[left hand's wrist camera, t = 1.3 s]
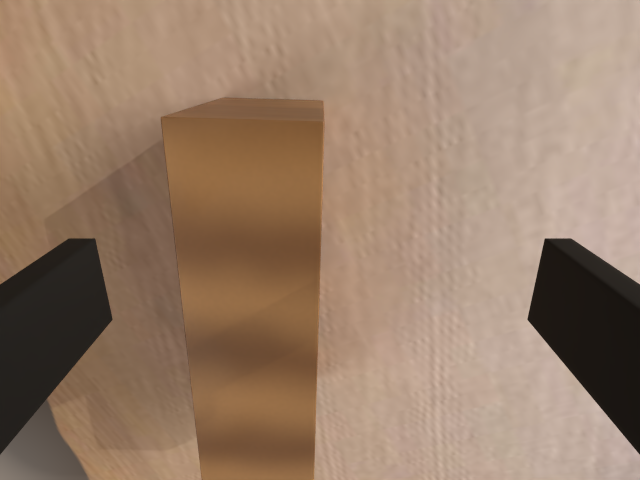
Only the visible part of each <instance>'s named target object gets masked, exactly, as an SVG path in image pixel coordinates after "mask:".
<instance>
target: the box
mask: <svg viewBox="0 0 640 480" xmlns="http://www.w3.org/2000/svg"><path fill="white" fill-rule="evenodd" d="M161 124H162V133H163V142H164V151H165V159H166V168H167V177H168V186H169V195H170V204H171V212H172V221H173V230H174V239H175V248H176V257H177V265H178V274H179V283H180V292H181V301H182V310H183V318H184V327H185V336H186V345H187V354H188V363H189V371H190V380H191V389H192V398H193V407H194V415H195V424H196V433H197V442H198V451H199V460H200V468H201V477H202V480H314V459H315V425H316V391H317V357H318V323H319V289H320V256H321V222H322V188H323V154H324V103H323V101H318V100H282V99H247V98H221V99H218V100H214V101H211V102H208V103H205V104H201V105H198V106H195V107H192V108H189V109H185V110H182V111H179V112H176V113H173V114H169V115H166V116H163V117H161Z"/></svg>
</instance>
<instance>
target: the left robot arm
mask: <svg viewBox="0 0 640 480" xmlns="http://www.w3.org/2000/svg"><path fill="white" fill-rule="evenodd" d="M111 321H112V315H111V310H110V306H109V301H108V296H107V292H106V287H105V282H104V278H103V273H102V268H101V264H100V259H99V254H98V250H97V245H96V240H95V239H68V240H66V241H65V242H63V243H62V244H60V245H59V246H57V247H56V248H54V249H53V250H51V251H50V252H48V253H47V254H45V255H44V256H42V257H41V258H39V259H38V260H36V261H35V262H33V263H32V264H30V265H29V266H27V267H26V268H24V269H23V270H21V271H20V272H18V273H17V274H15V275H14V276H12V277H11V278H9V279H8V280H6V281H5V282H3V283H2V284H0V454H1V453H2V452H3V450H4V449H5V448H6V447H7V446H8V444H9V443H10V442H11V441H12V440H13V438H14V437H15V436H16V435H17V434H18V432H19V431H20V430H21V429H22V428H23V426H24V425H25V424H26V423H27V422H28V420H29V419H30V418H31V417H32V416H33V414H34V413H35V412H36V411H37V410H38V408H39V407H40V406H41V405H42V404H43V402H44V401H45V400H46V399H47V398H48V396H49V395H50V394H51V393H52V392H53V390H54V389H55V388H56V387H57V386H58V384H59V383H60V382H61V381H62V380H63V378H64V377H65V376H66V375H67V374H68V372H69V371H70V370H71V369H72V368H73V366H74V365H75V364H76V363H77V362H78V360H79V359H80V358H81V357H82V356H83V354H84V353H85V352H86V351H87V350H88V348H89V347H90V346H91V345H92V344H93V342H94V341H95V340H96V339H97V338H98V336H99V335H100V334H101V333H102V332H103V330H104V329H105V328H106V327H107V326H108V324H109V323H110V322H111ZM528 321H529V322H530V323H531V324H532V326H533V327H534V328H535V329H536V330H537V332H538V333H539V334H540V335H541V336H542V338H543V339H544V340H545V341H546V342H547V344H548V345H549V346H550V347H551V348H552V350H553V351H554V352H555V353H556V354H557V356H558V357H559V358H560V359H561V360H562V362H563V363H564V364H565V365H566V366H567V368H568V369H569V370H570V371H571V372H572V374H573V375H574V376H575V377H576V378H577V380H578V381H579V382H580V383H581V384H582V386H583V387H584V388H585V389H586V390H587V392H588V393H589V394H590V395H591V396H592V398H593V399H594V400H595V401H596V402H597V404H598V405H599V406H600V407H601V408H602V410H603V411H604V412H605V413H606V414H607V416H608V417H609V418H610V419H611V420H612V422H613V423H614V424H615V425H616V426H617V428H618V429H619V430H620V431H621V432H622V434H623V435H624V436H625V437H626V438H627V440H628V441H629V442H630V443H631V444H632V446H633V447H634V448H635V449H636V450H637V452H638V453H639V454H640V284H638V283H637V282H635V281H634V280H632V279H631V278H629V277H628V276H626V275H625V274H623V273H622V272H620V271H619V270H617V269H616V268H614V267H613V266H611V265H610V264H608V263H607V262H605V261H604V260H602V259H601V258H599V257H598V256H596V255H595V254H593V253H592V252H590V251H589V250H587V249H586V248H584V247H583V246H581V245H580V244H578V243H577V242H575V241H574V240H572V239H545V240H544V245H543V250H542V254H541V259H540V264H539V268H538V273H537V278H536V282H535V287H534V292H533V296H532V301H531V306H530V310H529V315H528Z"/></svg>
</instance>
